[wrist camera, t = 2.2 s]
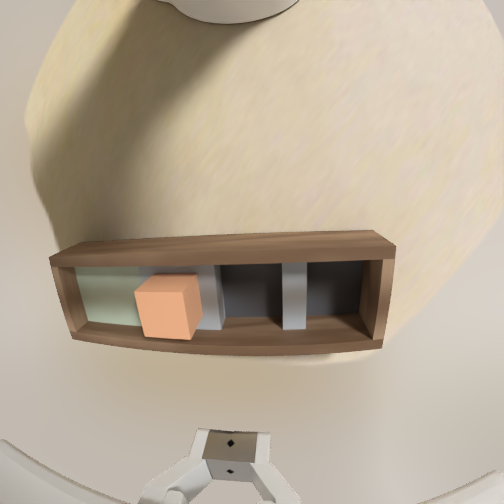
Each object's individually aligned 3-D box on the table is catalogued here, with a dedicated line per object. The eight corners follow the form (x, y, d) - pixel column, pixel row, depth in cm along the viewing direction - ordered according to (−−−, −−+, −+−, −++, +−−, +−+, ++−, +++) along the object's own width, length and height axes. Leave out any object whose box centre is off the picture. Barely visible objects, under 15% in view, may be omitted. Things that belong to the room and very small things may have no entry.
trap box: (80, 242, 27) (48, 257, 22) (372, 230, 24) (396, 245, 19) (97, 315, 29) (72, 339, 24) (365, 317, 26) (381, 348, 21)
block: (154, 273, 24) (134, 291, 20) (197, 272, 23) (182, 292, 19) (161, 313, 25) (144, 336, 21) (202, 315, 24) (190, 339, 21)
